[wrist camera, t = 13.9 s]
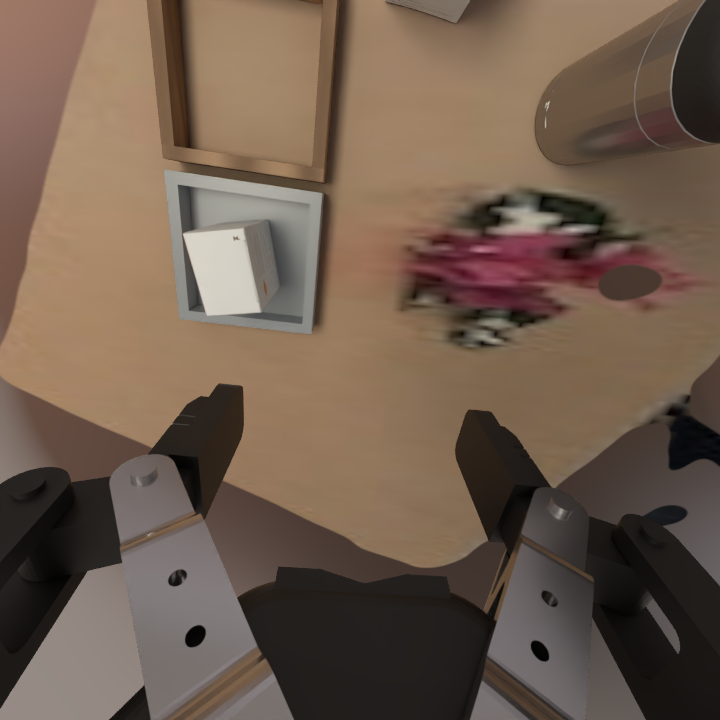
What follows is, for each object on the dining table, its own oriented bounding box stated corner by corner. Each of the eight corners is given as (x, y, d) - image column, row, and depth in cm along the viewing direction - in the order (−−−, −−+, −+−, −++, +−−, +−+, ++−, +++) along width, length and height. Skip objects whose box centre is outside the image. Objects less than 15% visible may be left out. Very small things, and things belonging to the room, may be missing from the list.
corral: (340, -10, 31) (339, -33, 28) (325, 183, 38) (323, 182, 35) (161, -46, 30) (139, -74, 27) (179, 161, 37) (162, 158, 34)
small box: (221, 222, 39) (179, 230, 29) (269, 218, 39) (243, 225, 29) (237, 290, 42) (204, 318, 33) (281, 287, 42) (261, 313, 33)
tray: (324, 193, 39) (322, 193, 35) (314, 324, 45) (311, 334, 42) (179, 171, 37) (164, 169, 34) (191, 310, 44) (179, 319, 41)
